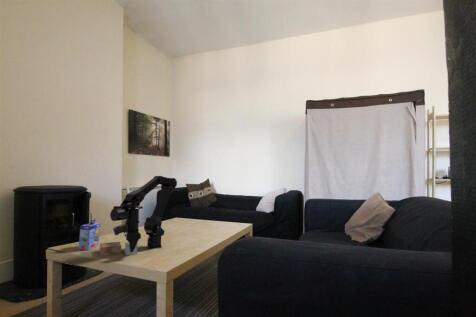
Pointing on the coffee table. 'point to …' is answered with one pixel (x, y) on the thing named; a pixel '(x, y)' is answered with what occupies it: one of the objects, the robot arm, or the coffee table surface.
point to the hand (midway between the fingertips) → (131, 250)
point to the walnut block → (110, 248)
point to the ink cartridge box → (89, 235)
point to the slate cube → (127, 249)
